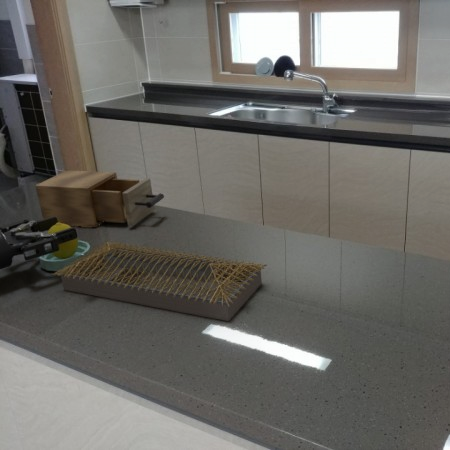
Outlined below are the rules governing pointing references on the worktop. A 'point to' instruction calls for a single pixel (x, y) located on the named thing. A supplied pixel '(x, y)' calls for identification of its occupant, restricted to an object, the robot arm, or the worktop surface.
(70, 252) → the lemon
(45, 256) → the bowl
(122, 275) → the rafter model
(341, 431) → the worktop surface
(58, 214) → the cabinet
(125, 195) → the drawer
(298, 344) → the worktop surface
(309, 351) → the worktop surface
